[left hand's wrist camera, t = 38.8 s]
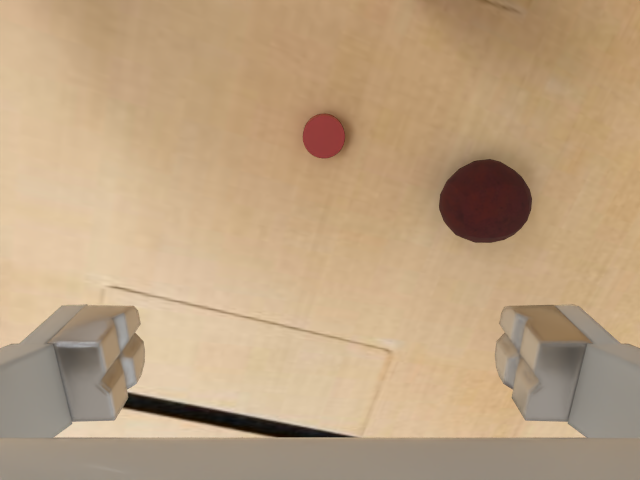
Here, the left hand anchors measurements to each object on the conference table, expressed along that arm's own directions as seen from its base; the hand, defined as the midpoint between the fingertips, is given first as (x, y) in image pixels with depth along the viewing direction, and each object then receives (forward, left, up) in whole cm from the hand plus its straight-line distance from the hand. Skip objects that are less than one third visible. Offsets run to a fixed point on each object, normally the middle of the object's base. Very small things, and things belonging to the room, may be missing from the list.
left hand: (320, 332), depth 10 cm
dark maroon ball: (+8, +14, -34) cm, 37 cm away
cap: (0, 0, -32) cm, 32 cm away
